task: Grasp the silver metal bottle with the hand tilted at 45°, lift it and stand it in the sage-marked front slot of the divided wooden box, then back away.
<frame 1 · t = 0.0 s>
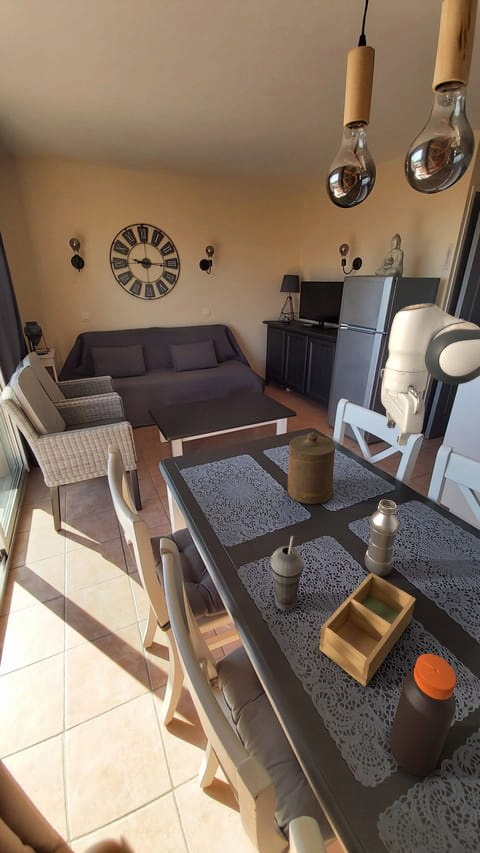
hand: (395, 435, 86), 33 cm above the table, tool pointing down, fingers open, 8 cm apart
wooden container: (309, 492, 123), on the table
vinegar: (411, 751, 57), on the table
beverage cup: (285, 603, 83), on the table
silver metal bottle: (377, 569, 91), on the table
divided wooden box: (366, 634, 75), on the table
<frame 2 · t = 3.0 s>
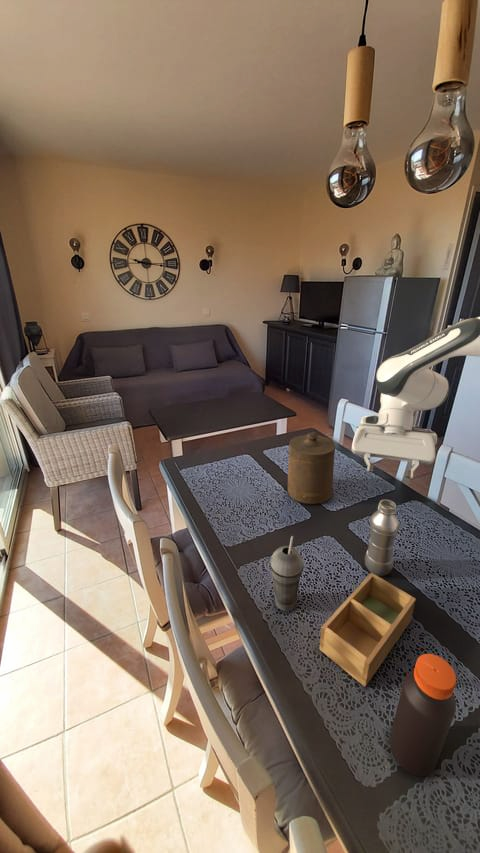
hand: (389, 474, 93), 21 cm above the table, tool tilted 45°, fingers open, 8 cm apart
nothing on the table moved.
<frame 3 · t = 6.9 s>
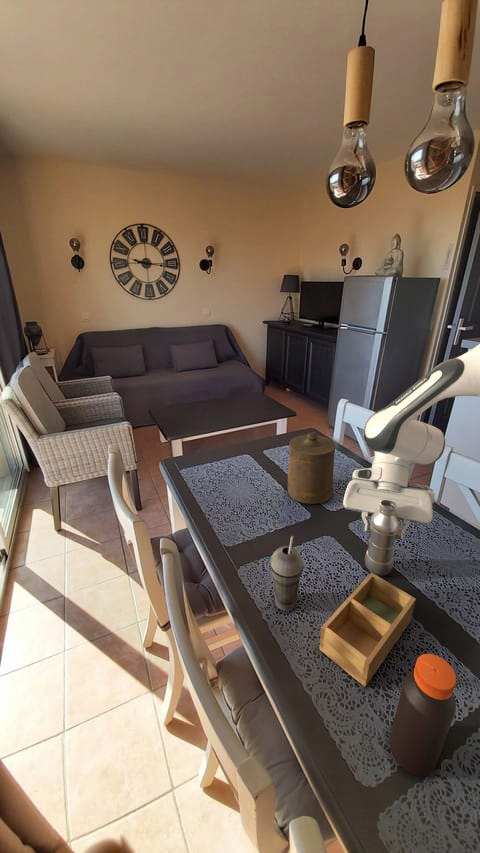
hand: (382, 535, 86), 11 cm above the table, tool tilted 45°, fingers closed on silver metal bottle, 6 cm apart
silver metal bottle: (377, 569, 91), on the table, touching gripper
everything else where it was.
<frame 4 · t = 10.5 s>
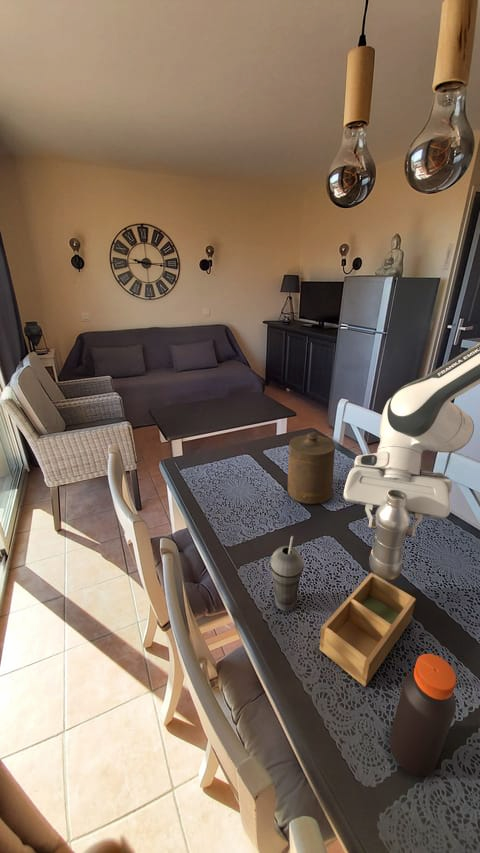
hand: (390, 532, 73), 21 cm above the table, tool tilted 45°, fingers closed on silver metal bottle, 6 cm apart
silver metal bottle: (383, 572, 78), point 10 cm above the table, touching gripper
everything else where it was.
when the fingers open (12 cm above the table, at t = 14.2 s): silver metal bottle stays where it is, resting on divided wooden box.
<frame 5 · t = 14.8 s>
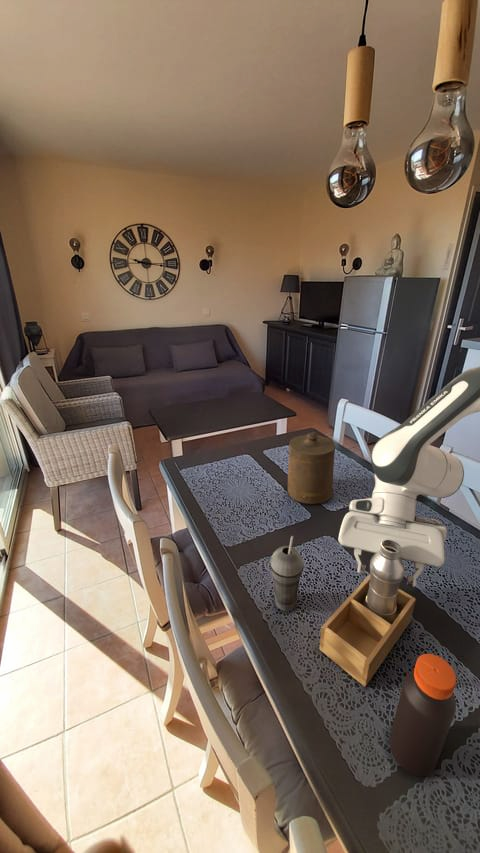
hand: (385, 579, 73), 13 cm above the table, tool tilted 45°, fingers open, 8 cm apart
silver metal bottle: (378, 618, 78), point 1 cm above the table, touching divided wooden box
everything else where it was.
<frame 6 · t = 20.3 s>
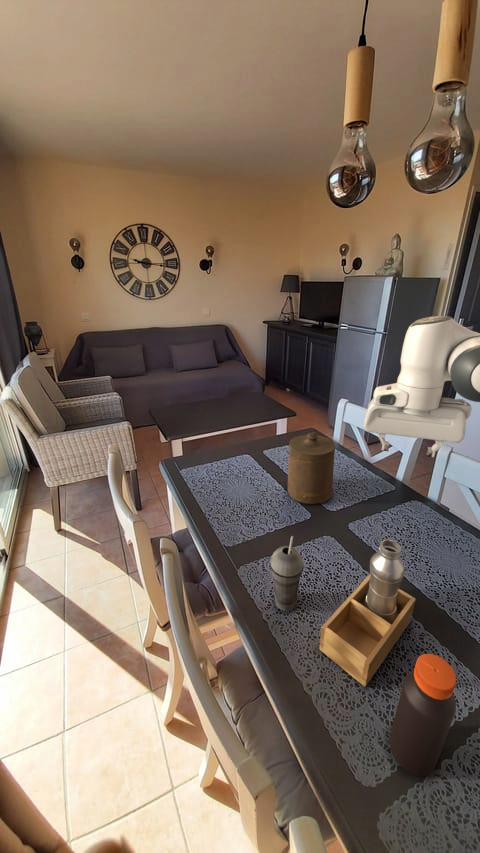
hand: (407, 452, 82), 31 cm above the table, tool pointing down, fingers open, 8 cm apart
nothing on the table moved.
at the end: silver metal bottle 0.0 cm from the target spot in the divided wooden box, point 0.6 cm above the divided wooden box's base; silver metal bottle tilted 0°; the gripper is holding nothing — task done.
